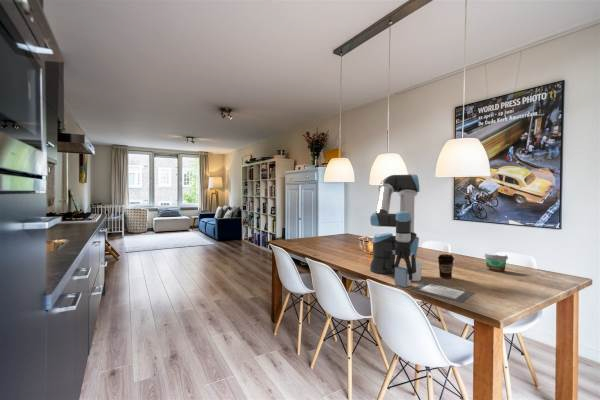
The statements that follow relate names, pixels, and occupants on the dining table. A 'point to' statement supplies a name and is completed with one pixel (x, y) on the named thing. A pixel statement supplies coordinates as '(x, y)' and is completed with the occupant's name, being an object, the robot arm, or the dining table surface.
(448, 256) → the coffee cup
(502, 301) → the dining table surface
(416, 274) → the white cup
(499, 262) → the food container
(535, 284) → the dining table surface
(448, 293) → the letter
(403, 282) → the block
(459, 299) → the desk mat
